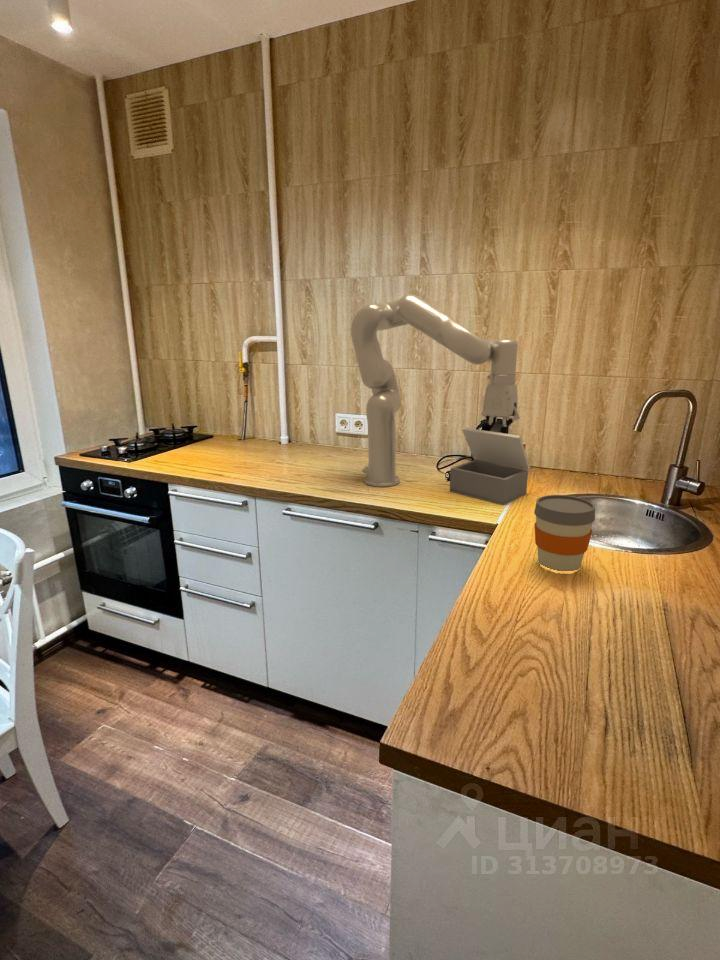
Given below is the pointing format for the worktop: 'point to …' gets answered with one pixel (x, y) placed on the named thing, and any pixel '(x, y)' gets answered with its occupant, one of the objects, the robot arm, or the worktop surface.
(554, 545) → the reusable coffee cup
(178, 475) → the worktop surface
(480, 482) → the grey hinged box
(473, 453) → the lid
